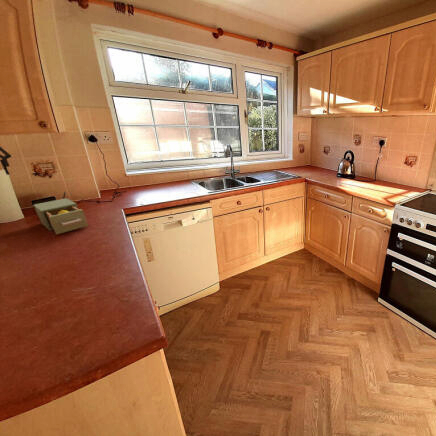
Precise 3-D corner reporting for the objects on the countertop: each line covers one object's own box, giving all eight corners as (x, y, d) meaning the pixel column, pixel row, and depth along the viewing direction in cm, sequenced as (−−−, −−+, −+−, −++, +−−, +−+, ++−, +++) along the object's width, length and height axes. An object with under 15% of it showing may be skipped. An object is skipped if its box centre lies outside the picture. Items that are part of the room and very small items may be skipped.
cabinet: (82, 222, 132) (76, 203, 128) (49, 230, 121) (40, 210, 118) (73, 215, 141) (66, 198, 137) (41, 223, 131) (33, 204, 127)
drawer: (91, 228, 121) (85, 211, 118) (59, 237, 112) (52, 219, 109) (78, 219, 133) (72, 203, 130) (48, 226, 124) (41, 210, 121)
